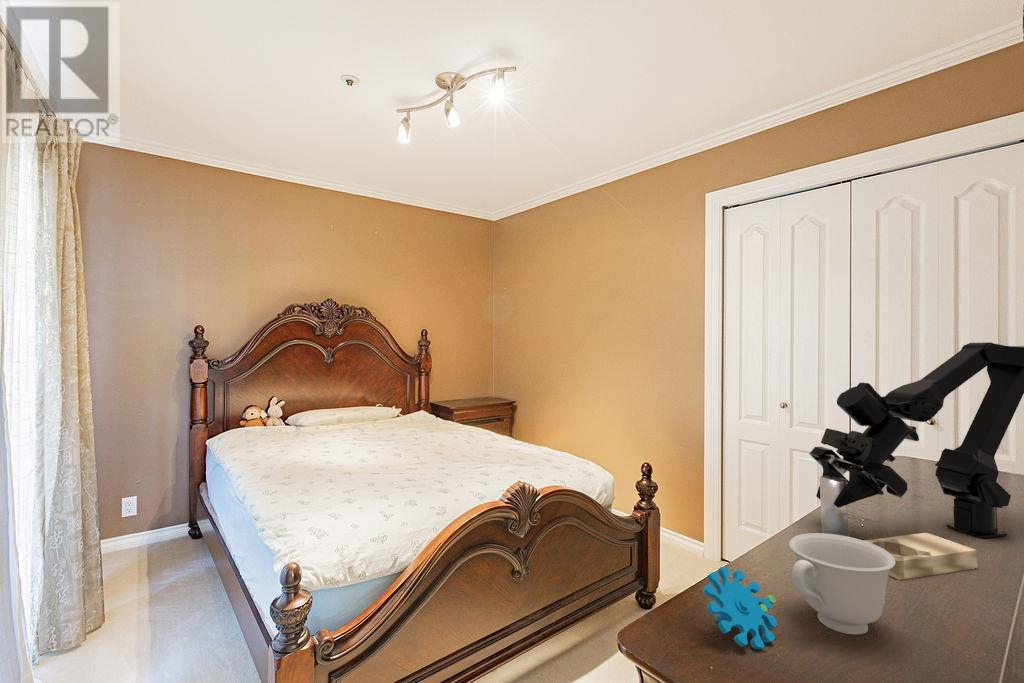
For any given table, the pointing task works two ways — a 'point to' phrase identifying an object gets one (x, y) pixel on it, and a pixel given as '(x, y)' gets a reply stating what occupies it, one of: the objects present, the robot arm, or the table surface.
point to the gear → (740, 608)
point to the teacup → (841, 579)
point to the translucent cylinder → (833, 506)
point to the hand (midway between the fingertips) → (826, 501)
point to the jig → (926, 555)
